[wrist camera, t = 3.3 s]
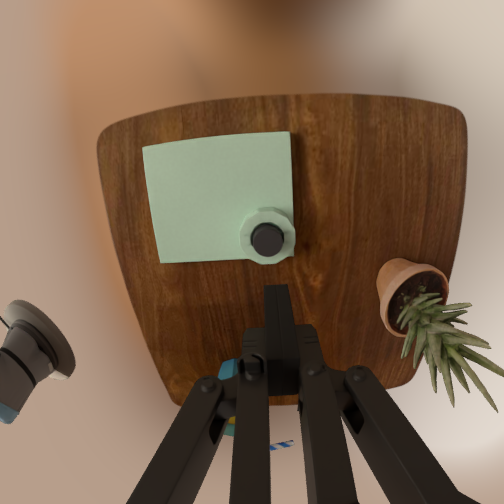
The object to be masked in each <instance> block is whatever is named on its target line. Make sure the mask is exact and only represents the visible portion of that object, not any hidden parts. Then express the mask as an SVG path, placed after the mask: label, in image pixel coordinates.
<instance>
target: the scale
mask: <svg viewBox="0 0 504 504" xmlns="http://www.w3.org/2000/svg"><path fill="white" fill-rule="evenodd" d="M142 150H143V159H144V167H145V175H146V183H147V190H148V197H149V203H150V209H151V216H152V221H153V227H154V233H155V238H156V243H157V248H158V253H159V258H160V263H174V262H194V261H213V260H232V259H251V260H253V261H255V262H257V263H260V264H275V263H278V262H279V261H281V260H283V259H284V258H286V257H288V256H294V246H295V228H294V225H293V188H292V162H291V142H290V132H264V133H247V134H234V135H223V136H213V137H204V138H196V139H189V140H182V141H175V142H169V143H162V144H157V145H151V146H146V147H142ZM265 224H270V225H273V226H275V227H277V228H278V229H279V231H280V233H281V236H282V240H283V246H282V249H281V250H280V252H279V253H278V254H276V255H274V256H272V257H264V256H261V255H259V254H258V253H257V252H256V251H255V249H254V247H253V235H254V232H255V230H256V229H257V228H258V227H259V226H261V225H265Z"/></svg>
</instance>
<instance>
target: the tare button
mask: <svg viewBox="0 0 504 504" xmlns="http://www.w3.org/2000/svg"><path fill="white" fill-rule="evenodd" d="M282 246H283V240H282V236H281V233H280V231H279V229H278V228H277V227H275V226H273V225H270V224H265V225H261V226H259V227H258V228H257V229H256V230H255V232H254V235H253V247H254V249H255V251H256V252H257V253H258V254H259V255H261V256H264V257H272V256H274V255H276V254H278V253H279V252H280V250H281V249H282Z"/></svg>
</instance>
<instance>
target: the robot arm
mask: <svg viewBox="0 0 504 504" xmlns="http://www.w3.org/2000/svg"><path fill="white" fill-rule="evenodd" d="M264 310H265V328H247V330H246V331H245V332H244V334H243V343H242V355H241V356H240V357H239V358H238V360H237V368H238V373H237V374H236V375H234V376H232V377H230V378H227V379H223V380H220V379H219V378H218V377H216V376H204V377H201V378H200V379H198V380H197V381H196V382H195V384H194V386H193V388H192V389H191V391H190V393H189V395H188V397H187V398H186V400H185V402H184V404H183V405H182V407H181V409H180V411H179V413H178V414H177V416H176V418H175V420H174V421H173V423H172V425H171V427H170V429H169V430H168V432H167V434H166V436H165V437H164V439H163V441H162V443H161V444H160V446H159V448H158V450H157V451H156V453H155V455H154V457H153V458H152V460H151V462H150V463H149V465H148V467H147V469H146V471H145V472H144V474H143V475H142V477H141V479H140V481H139V482H138V484H137V486H136V488H135V489H134V491H133V493H132V494H131V496H130V498H129V499H128V501H127V503H126V504H193V502H194V500H195V498H196V496H197V494H198V491H199V489H200V487H201V485H202V483H203V480H204V478H205V476H206V474H207V471H208V469H209V467H210V464H211V462H212V460H213V457H214V455H215V453H216V450H217V448H218V446H219V443H220V441H221V439H222V436H223V434H224V431H225V429H226V427H227V424H228V422H229V419H230V418H231V417H235V428H234V442H233V456H232V470H231V484H230V499H229V504H271V476H270V430H269V398H268V396H282V395H296V394H298V395H299V400H298V410H297V411H299V414H300V423H301V433H302V442H303V452H304V461H305V473H306V484H307V496H308V504H359V502H358V499H357V494H356V488H355V483H354V478H353V473H352V467H351V463H350V457H349V452H348V448H347V443H346V438H345V434H344V429H343V425H342V420H341V417H342V419H343V421H344V422H345V424H346V426H347V428H348V429H349V431H350V433H351V435H352V437H353V439H354V440H355V442H356V444H357V445H358V447H359V449H360V451H361V453H362V454H363V456H364V458H365V460H366V461H367V463H368V465H369V467H370V469H371V470H372V472H373V474H374V476H375V477H376V479H377V481H378V483H379V484H380V486H381V488H382V490H383V491H384V493H385V495H386V497H387V498H388V500H389V502H390V504H480V503H478V502H476V501H475V500H473V499H471V498H469V497H467V496H466V495H464V494H462V493H461V492H459V491H458V490H457V489H456V487H455V486H454V484H453V483H452V481H451V480H450V479H449V477H448V476H447V474H446V473H445V471H444V470H443V468H442V467H441V465H440V464H439V463H438V461H437V460H436V458H435V457H434V456H433V454H432V453H431V452H430V450H429V449H428V447H427V446H426V445H425V443H424V442H423V441H422V439H421V437H420V436H419V435H418V433H417V432H416V430H415V429H414V428H413V427H412V425H411V424H410V422H409V421H408V420H407V418H406V417H405V416H404V414H403V413H402V411H401V410H400V409H399V407H398V406H397V405H396V403H395V402H394V401H393V399H392V398H391V397H390V395H389V394H388V392H387V391H386V390H385V388H384V387H383V386H382V384H381V383H380V382H379V381H378V379H377V378H376V377H375V375H374V374H373V373H372V371H371V370H370V369H369V368H367V367H365V366H360V365H357V366H352V367H351V368H349V369H348V370H347V371H338V370H334V369H331V368H330V367H328V366H327V364H325V362H324V359H323V355H322V351H321V347H320V343H319V339H318V336H317V332H316V329H315V328H314V327H313V326H312V325H311V324H306V325H295V323H294V318H293V312H292V306H291V301H290V295H289V290H288V285H287V284H283V285H264ZM0 320H1V321H2V323H3V324H4V325H5V326H6V327H7V328H8V329H9V331H8V333H7V336H6V338H5V341H4V343H3V346H2V347H1V348H0V421H1V422H3V423H5V424H11V423H12V422H13V421H14V419H15V418H16V417H17V415H19V412H20V410H21V409H22V407H23V405H24V404H25V402H26V400H27V399H28V397H29V395H30V394H31V392H32V391H33V389H34V388H35V386H36V385H37V383H38V382H40V381H41V380H43V379H44V378H46V377H48V376H49V375H51V374H52V373H53V372H54V371H55V370H56V368H57V367H58V364H59V362H58V357H57V355H56V352H55V350H54V349H53V347H52V345H51V344H50V343H49V341H48V340H47V339H46V337H45V336H44V335H43V334H42V333H41V332H40V331H39V330H38V329H37V328H36V327H34V326H33V325H32V324H30V323H29V322H27V321H25V320H22V319H17V320H15V321H14V322H13V323H12V325H11V326H10V327H9V325H8V324H7V323H6V322H5V321H4V320H3V319H2V318H1V316H0Z"/></svg>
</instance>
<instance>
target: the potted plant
mask: <svg viewBox="0 0 504 504" xmlns="http://www.w3.org/2000/svg"><path fill="white" fill-rule="evenodd" d="M376 285H377V290H378V294H379V298H380V302H381V305H380V314H381V318H382V320H383V322H384V324H385V326H386V328H387V329H388V330H389V331H390V332H391V333H392V334H393V335H395V336H397V337H406V339H405V342H404V346H403V350H402V355H401V359H402V358H403V356H404V354H405V357H407V355H408V352H409V349H410V350H411V345H412V342H413V339H414V338H415V337H416V336H417V342H416V347H415V353H414V361H413V366H414V369H415V368H416V366H417V362H418V360H419V359H420V356H421V354H422V352H424V356H425V359H426V362H427V364H429V369H430V374H431V381H432V386H433V389H434V391H435V393H437V381H436V377H437V368H438V370H439V372H440V373H441V372H442V375H443V379H444V383H445V386H446V389H447V393H448V395H449V398H450V401H451V404H452V405H453V407H454V393H453V386H452V380H451V373H450V368H451V370H452V371H453V373H454V374H455V376H456V377H457V379H458V380H459V382H460V383H461V384H462V386H463V387H464V388H465V389H466V390H467V392H468V393H470V391H469V388H468V384H467V382H466V379H465V377H464V374H463V372H462V369H463V370H464V371H465V372H466V373H467V375H468V376H469V377H470V378H471V379H472V381H473V382H474V384H475V385H476V386H477V388H478V389H479V390H480V391H481V393H482V394H483V395H484V397H485V398H486V399H487V401H488V402H489V403H490V405H491V406H492V407H493V408H494V409H495V410H496V411H497V413H498V410H497V408H496V405H495V403H494V401H493V400H492V398H491V396H490V395H489V393H488V392H487V390H486V388H485V387H484V386H483V384H482V383H481V381H480V380H479V378H478V377H477V375H476V374H475V372H474V371H473V370H472V369H471V368H470V366H469V365H468V364H467V362H466V361H465V359H464V358H463V357H465V358H467V359H469V360H471V361H473V362H476V363H478V364H479V365H481V366H483V367H485V368H487V369H489V370H491V371H493V372H495V373H496V374H499V375H500V376H502V377H504V370H503V369H502V368H500V367H499V366H497V365H496V364H494V363H493V362H491V361H490V360H488V359H487V358H486V357H483V356H482V355H480V354H478V353H476V352H475V351H473V350H471V349H469V348H468V347H466V346H464V345H463V344H466V345H472V346H478V347H482V348H487V349H491V347H490V346H489V343H488V342H486V341H484V340H483V339H481V338H479V337H477V336H474V335H472V334H469V333H466V332H464V331H461V330H458V329H455V328H454V325H452V324H451V323H450V322H457V323H462V324H467V323H466V322H465V321H463V320H460V319H458V318H456V317H457V316H459V315H461V314H464V313H467V311H466V310H460V311H454V312H447V313H443V312H442V311H447V310H457V309H462V308H467V307H470V306H472V305H471V304H470V303H458V304H451V305H446V301H447V298H448V293H449V285H448V281H447V278H446V276H445V275H444V274H443V273H442V272H441V271H440V270H438V269H436V268H435V267H433V266H431V265H428V264H417V263H413V262H410V261H408V260H406V259H403V258H395V259H392V260H390V261H388V262H386V263H385V264H384V265H383V266H382V268H381V269H380V271H379V274H378V277H377V280H376ZM462 356H463V357H462ZM461 367H462V369H461Z"/></svg>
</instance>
